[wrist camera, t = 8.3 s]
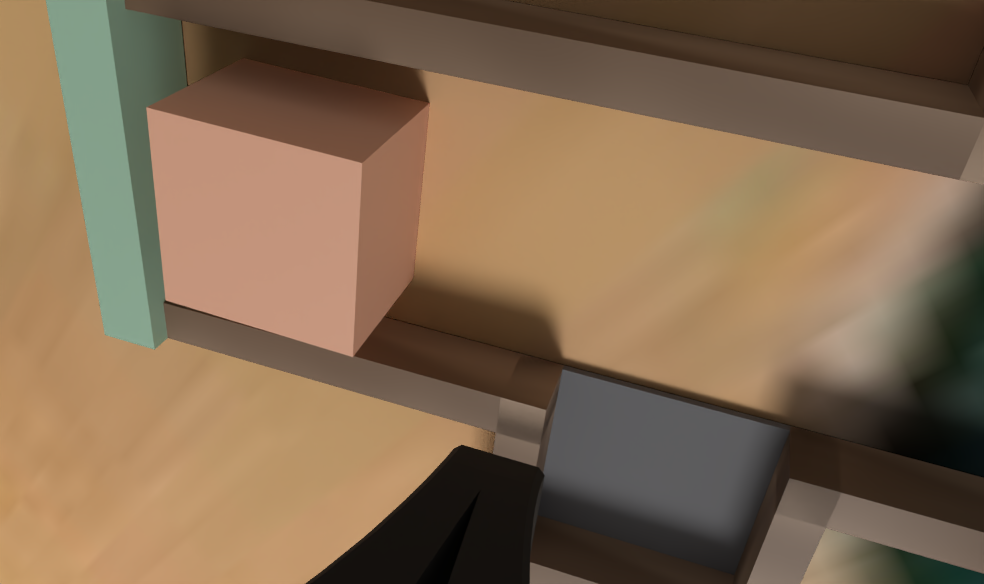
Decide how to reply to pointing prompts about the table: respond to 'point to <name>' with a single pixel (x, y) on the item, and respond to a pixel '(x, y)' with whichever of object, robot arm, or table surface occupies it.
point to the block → (288, 200)
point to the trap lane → (525, 379)
